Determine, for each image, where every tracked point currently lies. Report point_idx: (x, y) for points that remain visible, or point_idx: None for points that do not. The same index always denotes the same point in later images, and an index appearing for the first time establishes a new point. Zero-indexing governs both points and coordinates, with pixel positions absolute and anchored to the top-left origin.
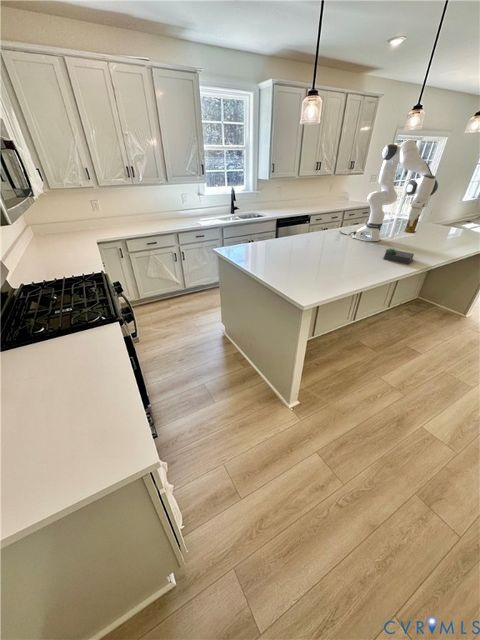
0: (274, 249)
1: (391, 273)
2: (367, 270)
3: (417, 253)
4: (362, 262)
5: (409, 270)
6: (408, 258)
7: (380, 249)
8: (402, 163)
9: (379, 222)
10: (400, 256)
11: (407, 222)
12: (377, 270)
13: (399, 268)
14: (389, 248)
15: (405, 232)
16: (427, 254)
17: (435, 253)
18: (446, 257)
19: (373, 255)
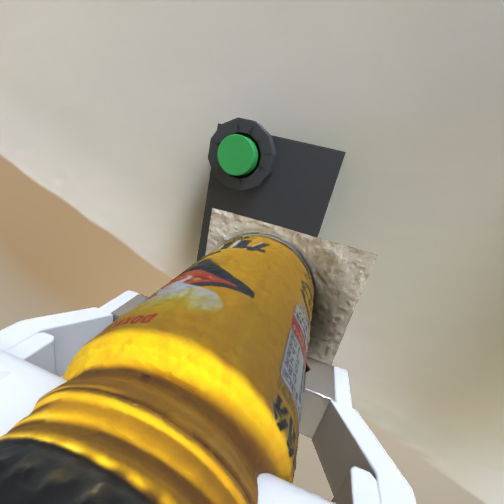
0: None
1: (64, 178)
2: (29, 69)
3: (445, 328)
4: (110, 11)
5: (138, 249)
6: (198, 254)
7: (475, 78)
8: None
9: None
10: (204, 216)
11: (183, 279)
12: (57, 116)
13: (137, 211)
14: (230, 137)
15: (210, 242)
16: (442, 374)
17: (483, 419)
18: (413, 440)
19: (277, 51)
